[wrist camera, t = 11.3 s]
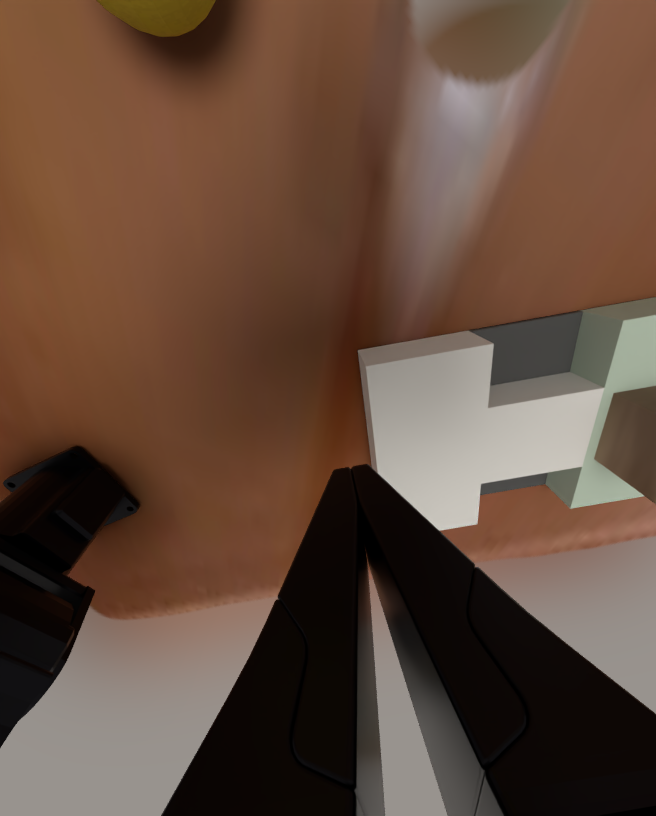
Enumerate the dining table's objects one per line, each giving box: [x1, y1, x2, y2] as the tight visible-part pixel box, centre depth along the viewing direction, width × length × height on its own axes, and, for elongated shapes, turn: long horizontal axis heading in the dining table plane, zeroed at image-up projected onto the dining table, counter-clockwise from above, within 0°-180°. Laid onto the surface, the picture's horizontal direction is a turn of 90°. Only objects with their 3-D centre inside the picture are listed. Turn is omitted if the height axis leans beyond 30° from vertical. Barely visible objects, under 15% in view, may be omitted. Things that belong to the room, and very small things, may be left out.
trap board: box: [358, 297, 656, 530], centre depth 21 cm, size 21×14×3 cm, turn 99°
